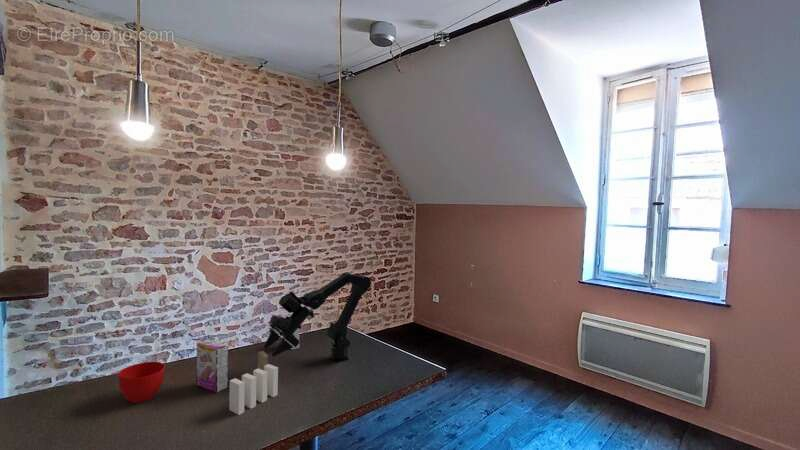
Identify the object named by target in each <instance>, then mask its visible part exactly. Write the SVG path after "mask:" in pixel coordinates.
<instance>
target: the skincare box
mask: <svg viewBox="0 0 800 450" xmlns="http://www.w3.org/2000/svg"><path fill="white" fill-rule="evenodd" d="M293 335H295V337H296V338H297V339H298V340H299V341H300V329H299V328H298V329H297V330H296V331H295V332H294V334H293ZM299 348H300V343H299V344H298V345H297V347H294V346H293V348H290V349H289V350H295V349H299Z"/></svg>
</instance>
